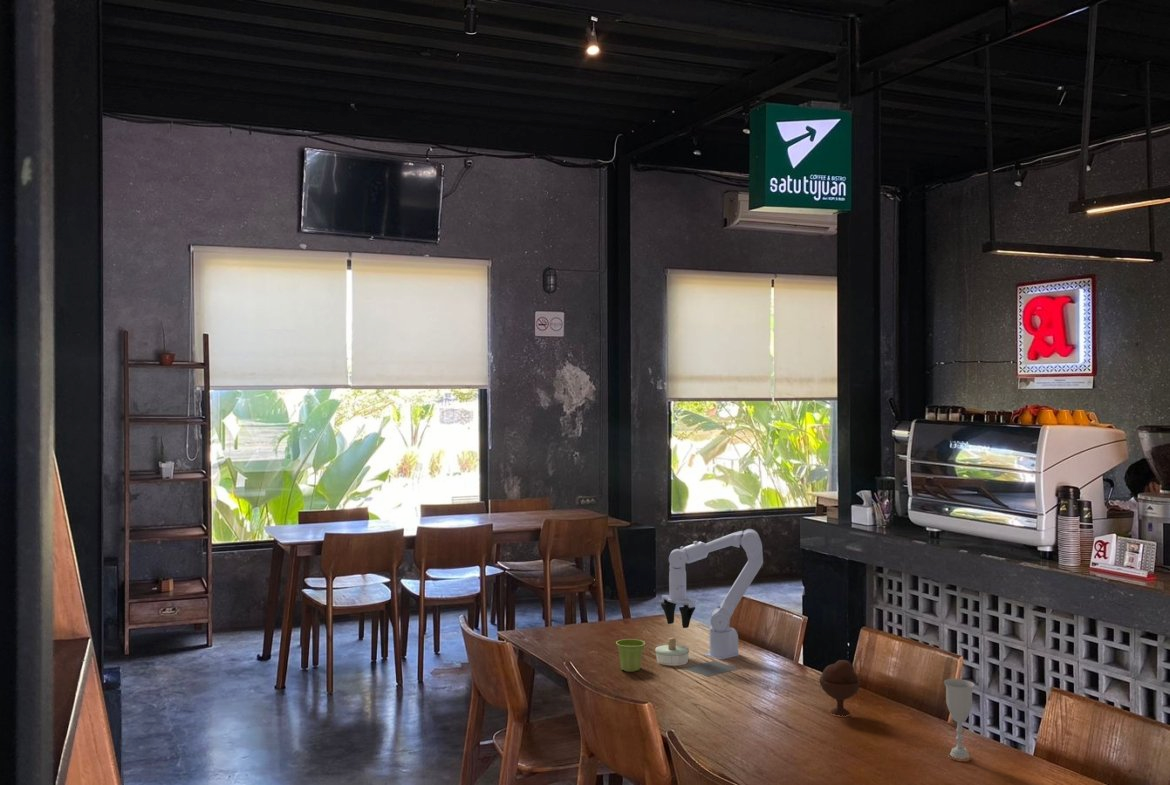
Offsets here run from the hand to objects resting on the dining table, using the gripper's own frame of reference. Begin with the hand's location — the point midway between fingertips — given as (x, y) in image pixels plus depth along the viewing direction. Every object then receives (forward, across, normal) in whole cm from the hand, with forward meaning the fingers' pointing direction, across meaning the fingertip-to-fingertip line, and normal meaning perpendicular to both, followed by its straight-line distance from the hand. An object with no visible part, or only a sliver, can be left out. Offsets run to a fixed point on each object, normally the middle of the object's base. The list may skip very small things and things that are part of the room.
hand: (678, 625), depth 335 cm
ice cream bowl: (+10, +74, -7) cm, 75 cm away
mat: (+10, +20, -4) cm, 23 cm away
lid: (+6, +6, -8) cm, 12 cm away
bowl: (+10, +6, -8) cm, 14 cm away
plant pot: (+10, +4, -24) cm, 26 cm away
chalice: (+10, +113, -11) cm, 114 cm away
